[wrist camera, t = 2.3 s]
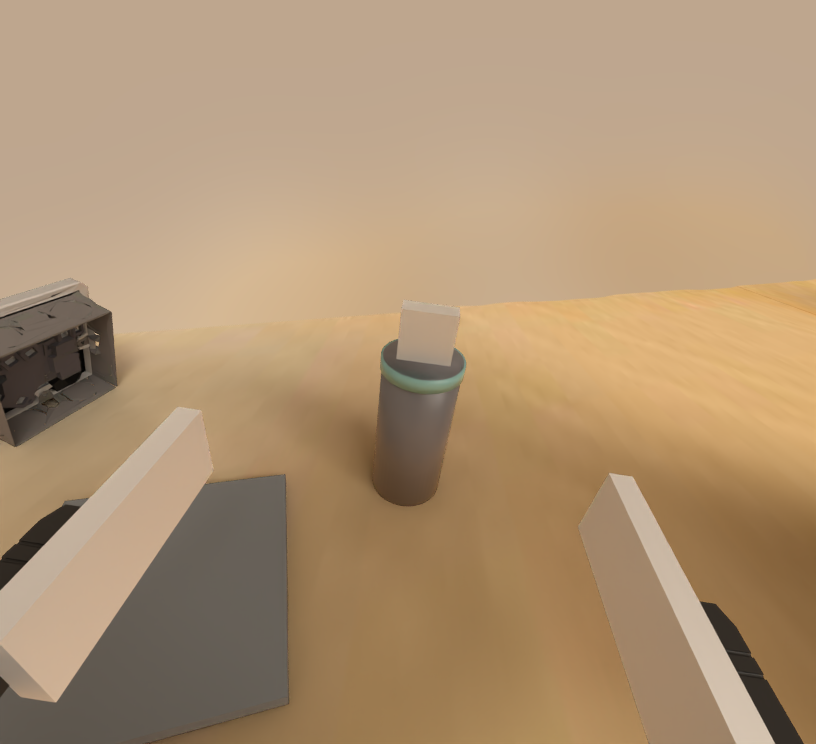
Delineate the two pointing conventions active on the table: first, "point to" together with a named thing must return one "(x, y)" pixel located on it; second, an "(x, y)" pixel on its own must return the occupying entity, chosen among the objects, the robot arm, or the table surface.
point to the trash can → (417, 402)
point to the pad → (183, 632)
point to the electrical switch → (51, 356)
